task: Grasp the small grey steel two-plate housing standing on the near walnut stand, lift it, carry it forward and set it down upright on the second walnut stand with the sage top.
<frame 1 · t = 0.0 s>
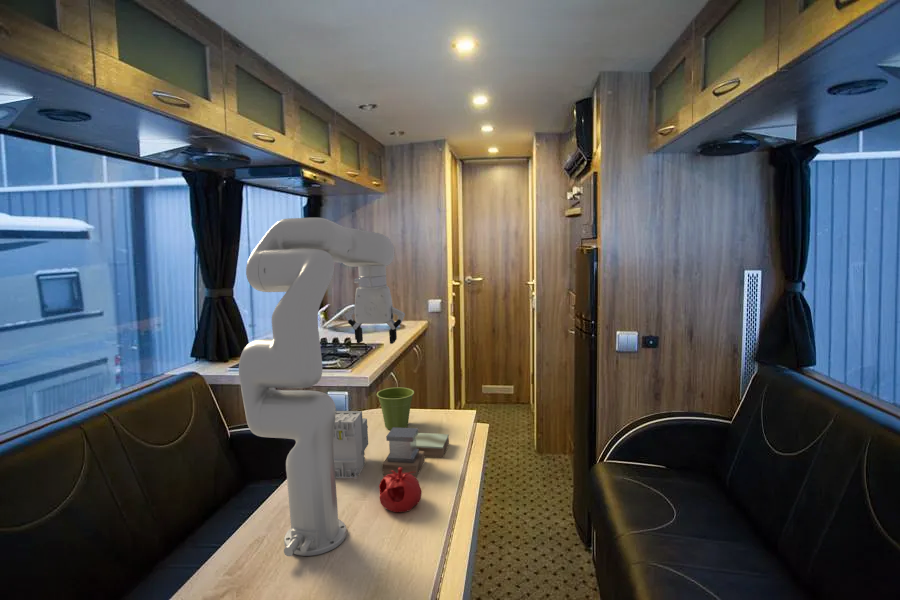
hand: (376, 342, 150), 31 cm above the table, tool pointing down, fingers open, 9 cm apart
pomegranate: (400, 505, 123), on the table
circuit breaker: (350, 466, 144), on the table
plant pot: (397, 427, 170), on the table
housing: (403, 457, 141), point 3 cm above the table, touching stand a
stand b: (430, 449, 152), on the table
stand a: (404, 468, 141), on the table
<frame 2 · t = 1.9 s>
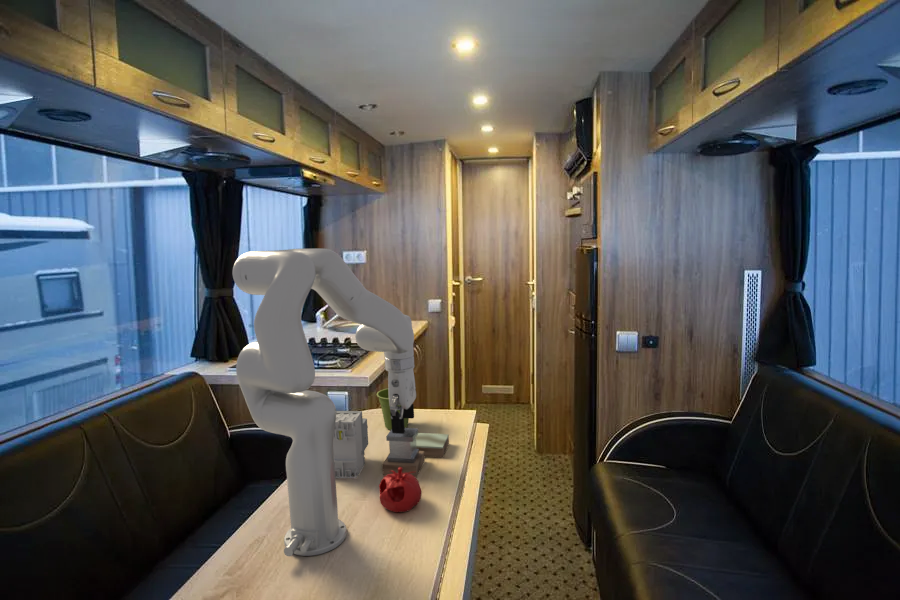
hand: (403, 425, 140), 12 cm above the table, tool pointing down, fingers open, 9 cm apart
nothing on the table moved.
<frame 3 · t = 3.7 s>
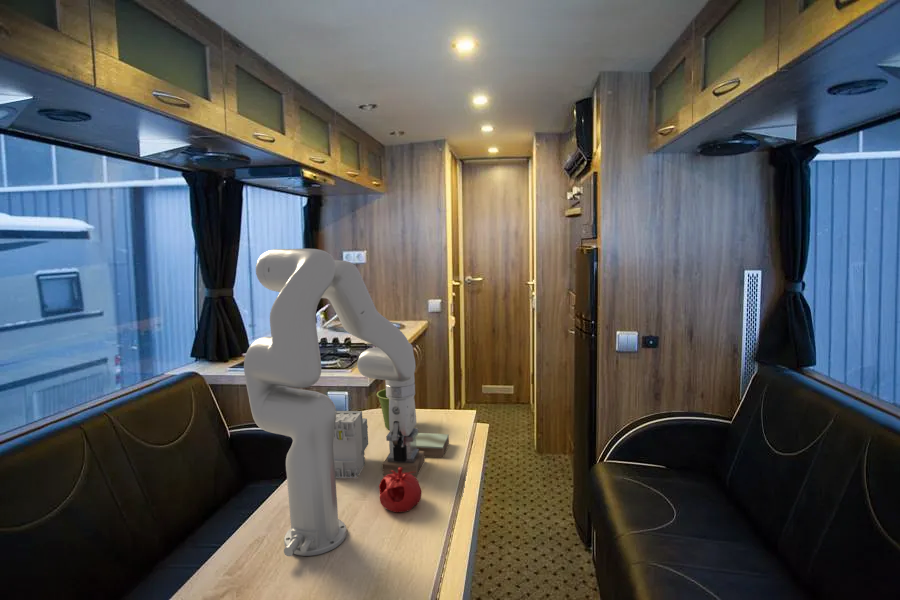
hand: (403, 454, 141), 4 cm above the table, tool pointing down, fingers closed on housing, 6 cm apart
housing: (403, 457, 141), point 3 cm above the table, touching gripper, stand a
everything else where it was.
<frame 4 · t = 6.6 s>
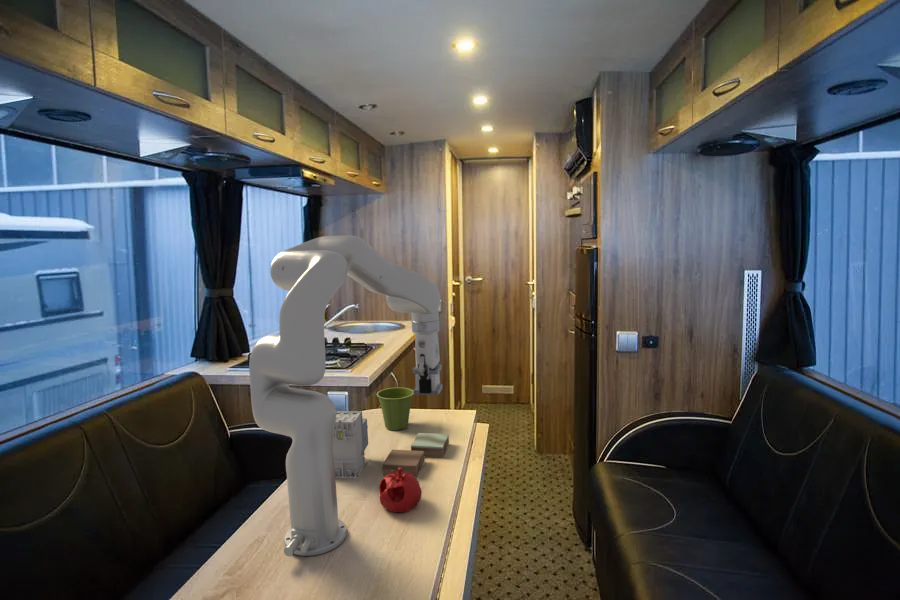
hand: (428, 388, 149), 18 cm above the table, tool pointing down, fingers closed on housing, 6 cm apart
housing: (428, 391, 150), point 17 cm above the table, touching gripper
everything else where it was.
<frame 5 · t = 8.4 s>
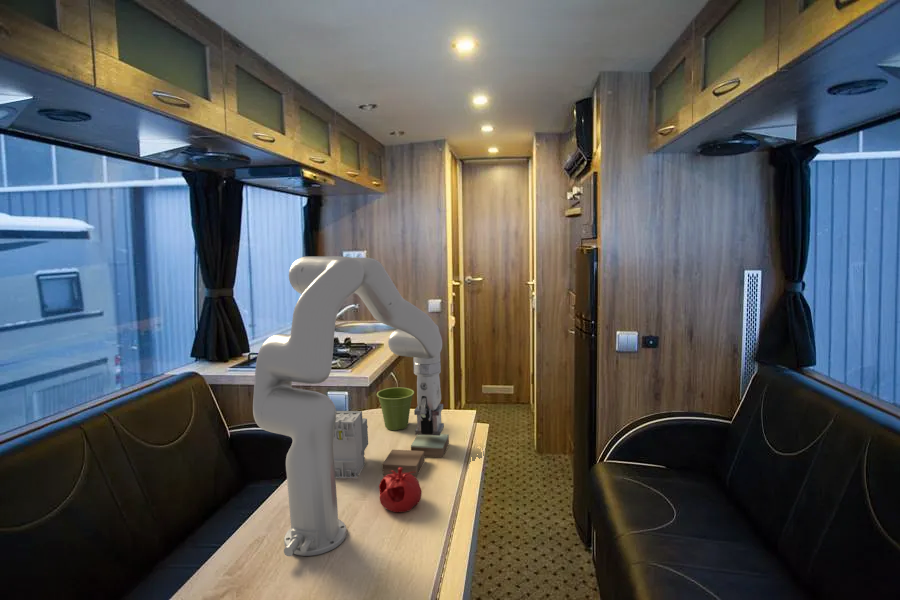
hand: (429, 428, 151), 6 cm above the table, tool pointing down, fingers closed on housing, 6 cm apart
housing: (429, 430, 151), point 6 cm above the table, touching gripper
everything else where it was.
when the fingers open (4 cm above the table, at t = 9.8 s): housing stays where it is, resting on stand b.
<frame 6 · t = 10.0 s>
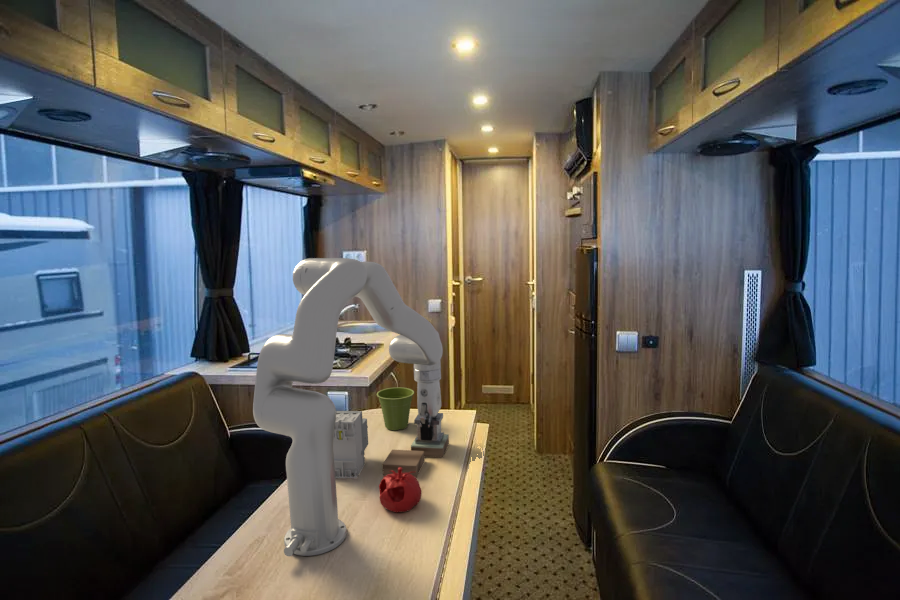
hand: (429, 433, 151), 5 cm above the table, tool pointing down, fingers open, 7 cm apart
housing: (429, 440, 151), point 3 cm above the table, touching stand b
everything else where it was.
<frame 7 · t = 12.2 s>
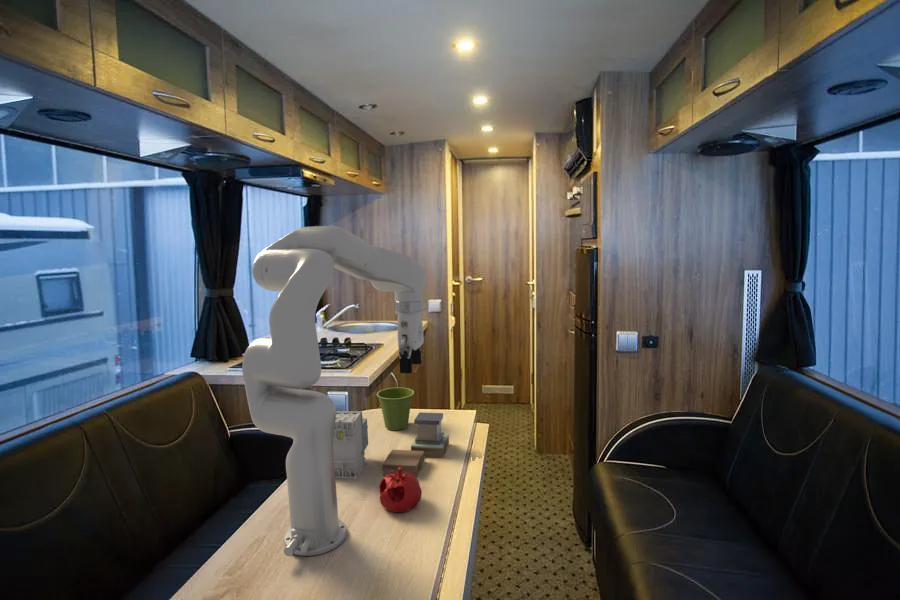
hand: (411, 368, 147), 25 cm above the table, tool pointing down, fingers open, 9 cm apart
nothing on the table moved.
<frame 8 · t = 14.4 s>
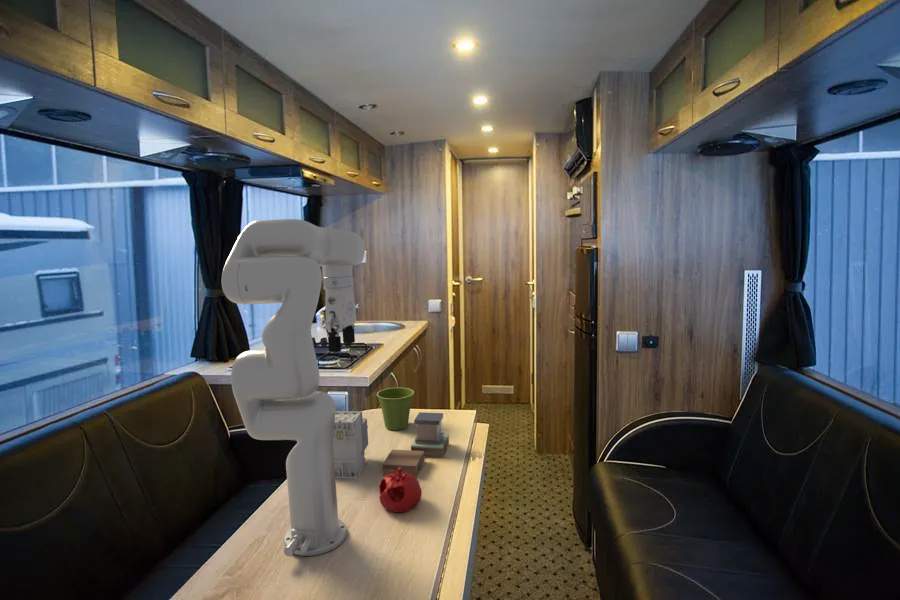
hand: (342, 346, 141), 32 cm above the table, tool pointing down, fingers open, 9 cm apart
nothing on the table moved.
at the end: housing 0.2 cm off-centre on the stand b, point 3.0 cm above the stand b's base; housing tilted 0°; the gripper is holding nothing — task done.
